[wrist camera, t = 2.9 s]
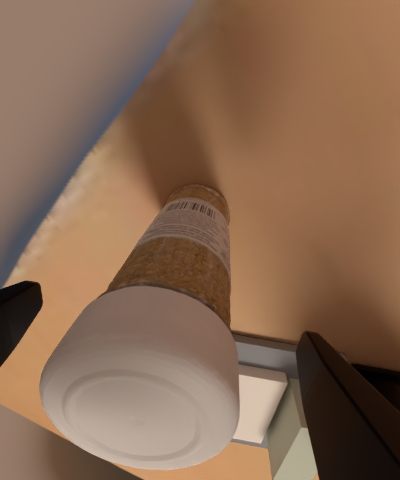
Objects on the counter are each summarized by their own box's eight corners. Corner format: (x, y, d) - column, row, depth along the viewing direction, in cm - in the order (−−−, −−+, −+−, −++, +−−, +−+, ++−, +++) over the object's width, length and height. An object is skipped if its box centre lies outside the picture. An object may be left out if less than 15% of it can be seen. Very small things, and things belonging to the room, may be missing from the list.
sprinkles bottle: (155, 229, 18) (17, 440, 6) (179, 170, 16) (46, 308, 4) (213, 254, 19) (189, 498, 7) (243, 200, 17) (285, 403, 5)
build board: (344, 354, 22) (374, 412, 17) (294, 445, 28) (307, 505, 23) (135, 316, 22) (113, 364, 18) (130, 414, 28) (113, 468, 24)
